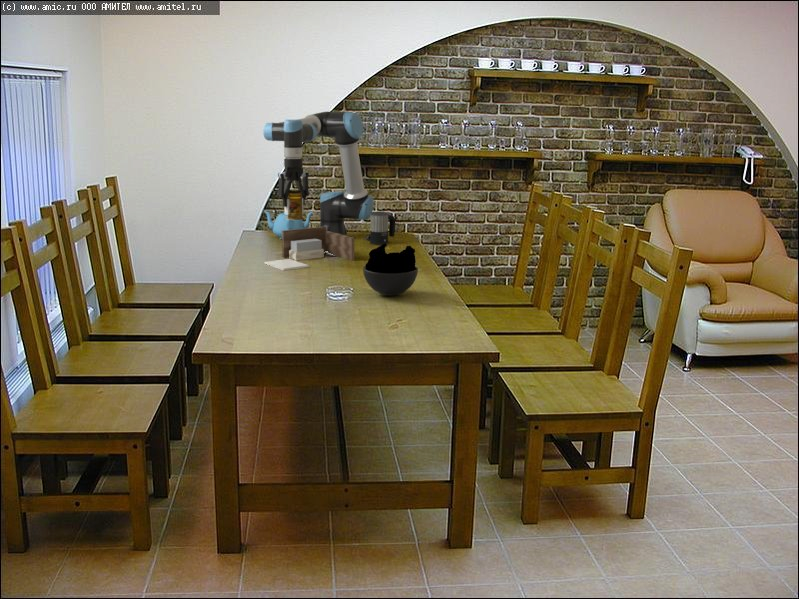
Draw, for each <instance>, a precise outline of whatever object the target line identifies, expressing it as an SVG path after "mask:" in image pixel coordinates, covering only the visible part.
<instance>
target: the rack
mask: <svg viewBox="0 0 799 599" xmlns="http://www.w3.org/2000/svg"><path fill="white" fill-rule="evenodd" d="M306 239H319V240H322V249H324V252H325V251H328V252H329V253H331V254H333V255H335V257H337V258H341V259H343V260H347V261H351V262H354V261H355V239H356V238H355V237H354V236H349V235H348V236H346V235H342V234H338V233H334V232H330V231H326V227H325V226H323V227H319V226H314V227H308V228H303V229H293V230H283V231H282V240H281V258H282V257H283V259H288V258H287V257H289V250H291V241H296V240H306ZM333 255H332V256H333Z"/></svg>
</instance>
